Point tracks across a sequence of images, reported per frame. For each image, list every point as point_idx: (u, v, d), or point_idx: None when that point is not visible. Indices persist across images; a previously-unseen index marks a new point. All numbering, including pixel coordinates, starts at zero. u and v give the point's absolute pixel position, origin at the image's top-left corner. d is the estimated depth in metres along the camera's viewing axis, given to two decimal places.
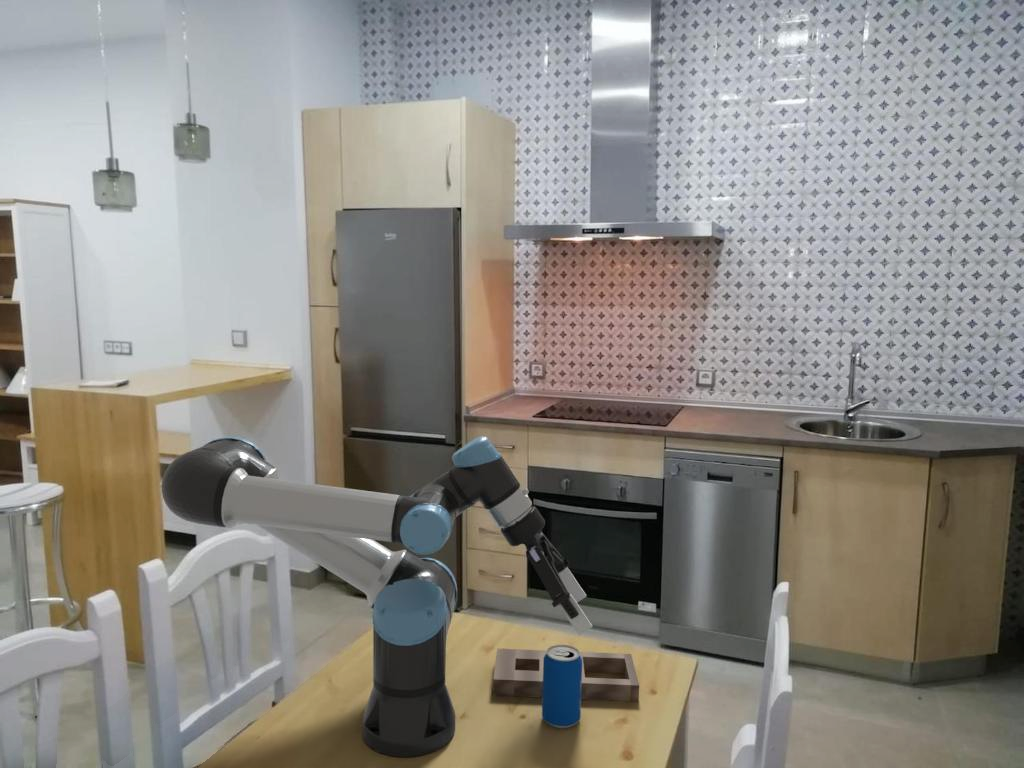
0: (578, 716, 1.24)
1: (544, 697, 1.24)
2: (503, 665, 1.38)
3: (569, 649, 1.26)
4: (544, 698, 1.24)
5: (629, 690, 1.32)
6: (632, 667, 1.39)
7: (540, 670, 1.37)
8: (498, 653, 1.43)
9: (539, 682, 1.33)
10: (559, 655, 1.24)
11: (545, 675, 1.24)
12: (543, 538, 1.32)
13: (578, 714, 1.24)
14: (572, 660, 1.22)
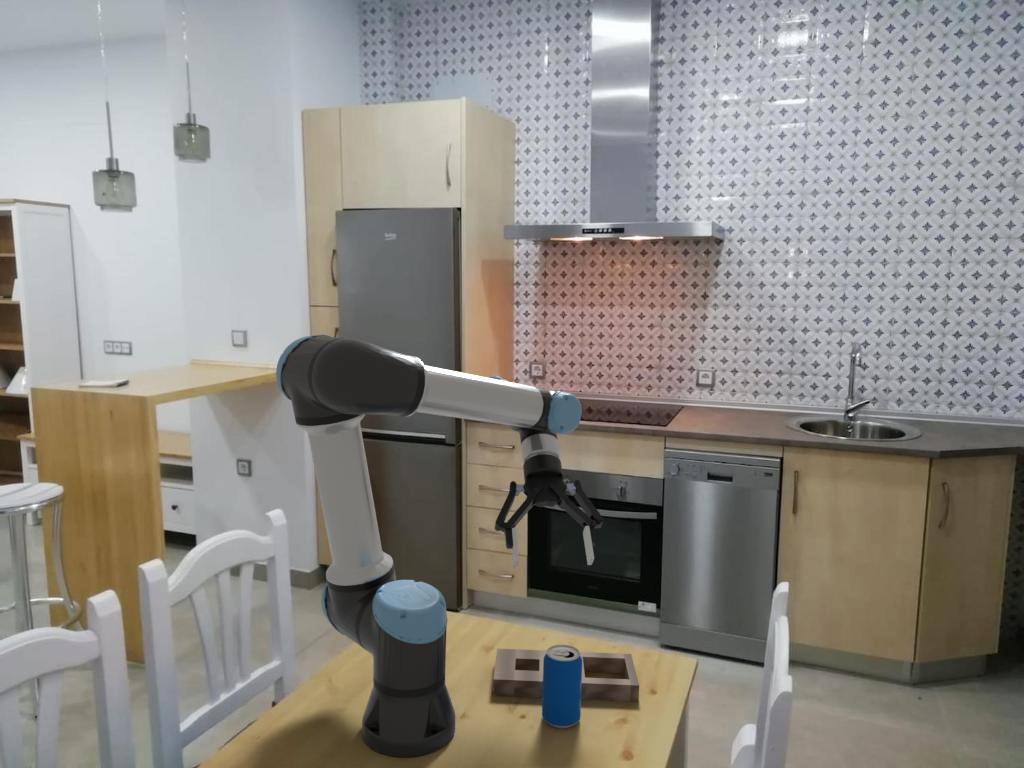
0: (578, 716, 1.24)
1: (544, 697, 1.24)
2: (503, 665, 1.38)
3: (569, 649, 1.26)
4: (544, 698, 1.24)
5: (629, 690, 1.32)
6: (632, 667, 1.39)
7: (540, 670, 1.37)
8: (498, 653, 1.43)
9: (539, 682, 1.33)
10: (559, 655, 1.24)
11: (545, 675, 1.24)
12: None
13: (578, 714, 1.24)
14: (572, 660, 1.22)
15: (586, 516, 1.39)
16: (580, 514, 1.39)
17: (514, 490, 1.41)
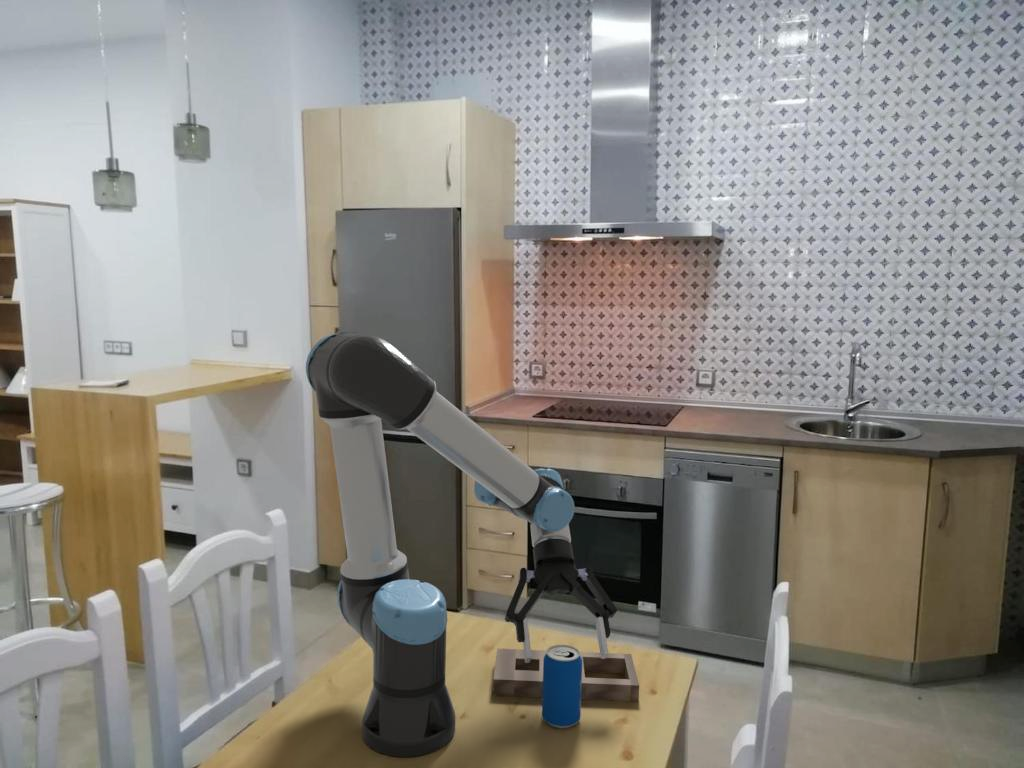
0: (578, 716, 1.24)
1: (544, 697, 1.24)
2: (503, 665, 1.38)
3: (569, 649, 1.26)
4: (544, 698, 1.24)
5: (629, 690, 1.32)
6: (632, 667, 1.39)
7: (540, 670, 1.37)
8: (498, 653, 1.43)
9: (539, 682, 1.33)
10: (559, 655, 1.24)
11: (545, 675, 1.24)
12: None
13: (578, 714, 1.24)
14: (572, 660, 1.22)
15: (599, 606, 1.34)
16: (593, 604, 1.34)
17: (524, 578, 1.36)
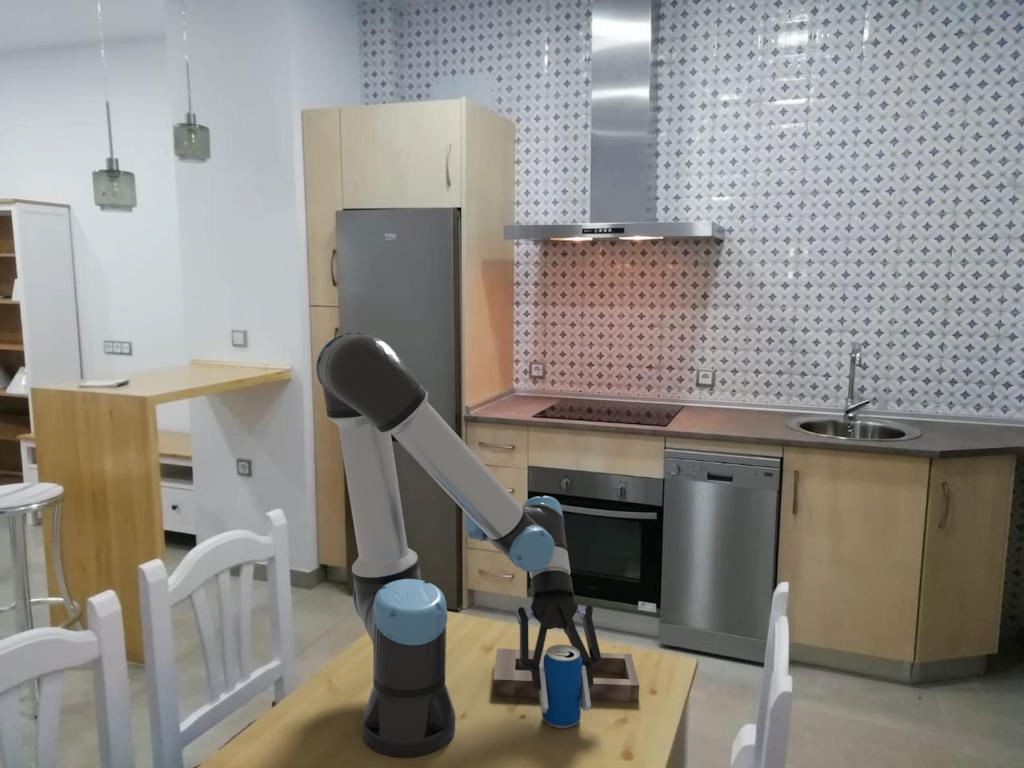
0: (578, 716, 1.24)
1: None
2: (503, 665, 1.38)
3: (569, 649, 1.26)
4: None
5: (629, 690, 1.32)
6: (632, 667, 1.39)
7: None
8: (498, 653, 1.43)
9: None
10: (559, 655, 1.24)
11: (545, 675, 1.24)
12: None
13: (578, 714, 1.24)
14: (572, 660, 1.22)
15: (585, 652, 1.27)
16: (579, 648, 1.27)
17: (525, 617, 1.30)
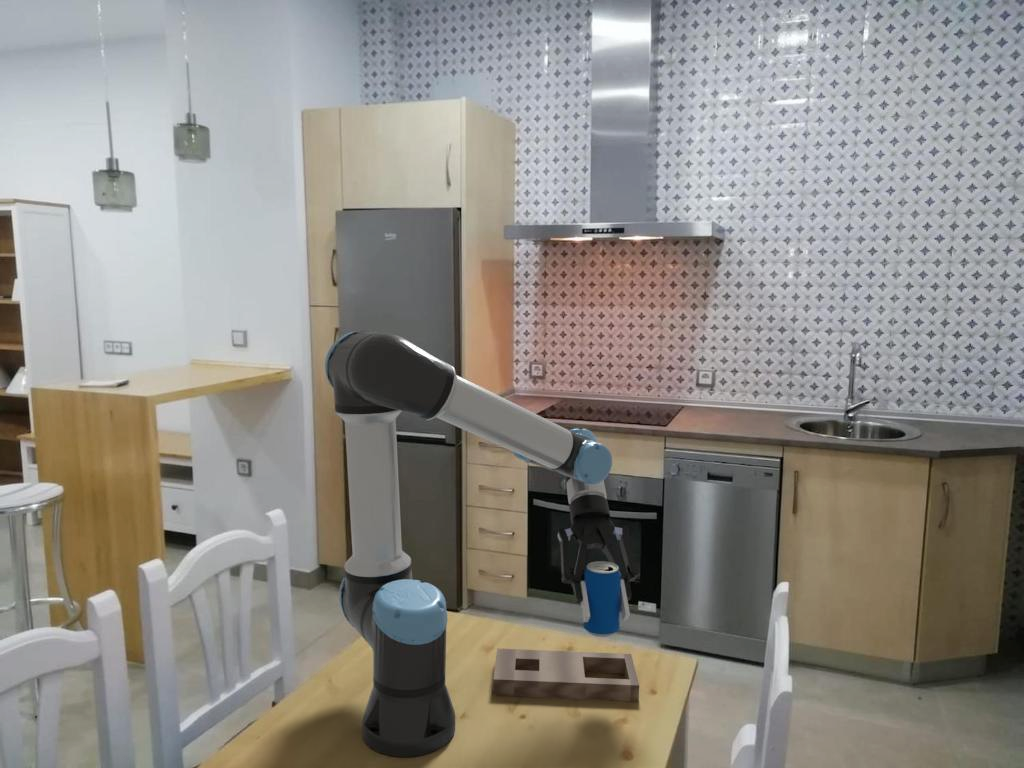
0: (618, 626, 1.32)
1: None
2: (503, 665, 1.38)
3: (608, 565, 1.34)
4: None
5: (629, 690, 1.32)
6: (632, 667, 1.39)
7: (540, 670, 1.37)
8: (498, 653, 1.43)
9: (539, 682, 1.33)
10: (599, 569, 1.32)
11: (586, 588, 1.32)
12: None
13: (617, 624, 1.32)
14: (612, 573, 1.31)
15: (623, 568, 1.35)
16: (617, 564, 1.36)
17: (566, 537, 1.38)
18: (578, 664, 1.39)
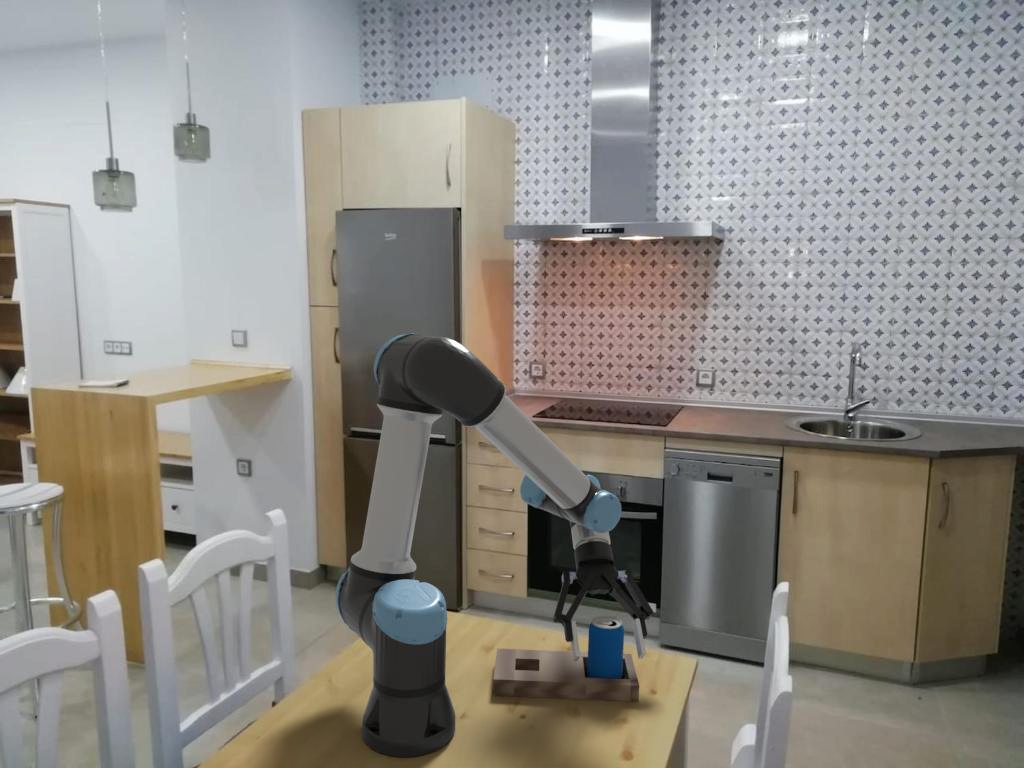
0: None
1: (589, 662, 1.37)
2: (503, 665, 1.38)
3: (611, 619, 1.39)
4: (589, 663, 1.37)
5: (629, 690, 1.32)
6: (632, 667, 1.39)
7: (540, 670, 1.37)
8: (498, 653, 1.43)
9: (539, 682, 1.33)
10: (603, 624, 1.37)
11: (591, 642, 1.36)
12: None
13: (620, 677, 1.37)
14: (615, 628, 1.35)
15: (636, 608, 1.41)
16: (630, 606, 1.41)
17: (568, 579, 1.43)
18: (578, 664, 1.39)
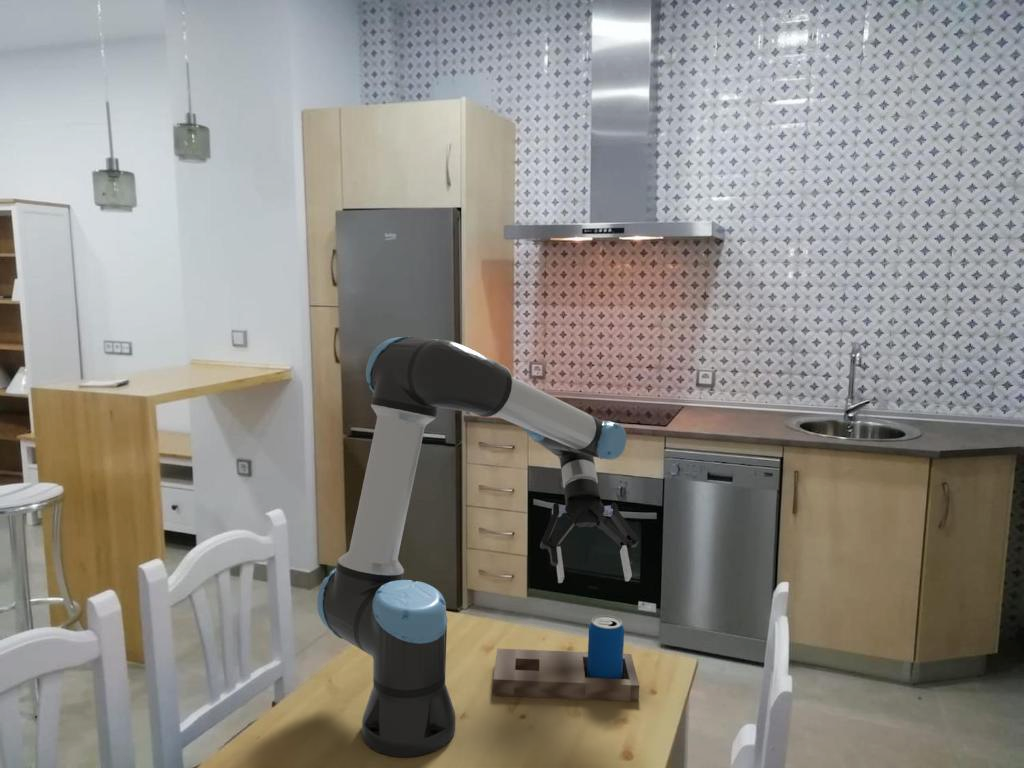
0: None
1: (589, 662, 1.37)
2: (503, 665, 1.38)
3: (611, 619, 1.39)
4: (589, 663, 1.37)
5: (629, 690, 1.32)
6: (632, 667, 1.39)
7: (540, 670, 1.37)
8: (498, 653, 1.43)
9: (539, 682, 1.33)
10: (603, 624, 1.37)
11: (591, 642, 1.36)
12: None
13: (620, 677, 1.37)
14: (616, 628, 1.35)
15: (623, 536, 1.52)
16: (617, 535, 1.52)
17: (557, 512, 1.54)
18: (578, 664, 1.39)
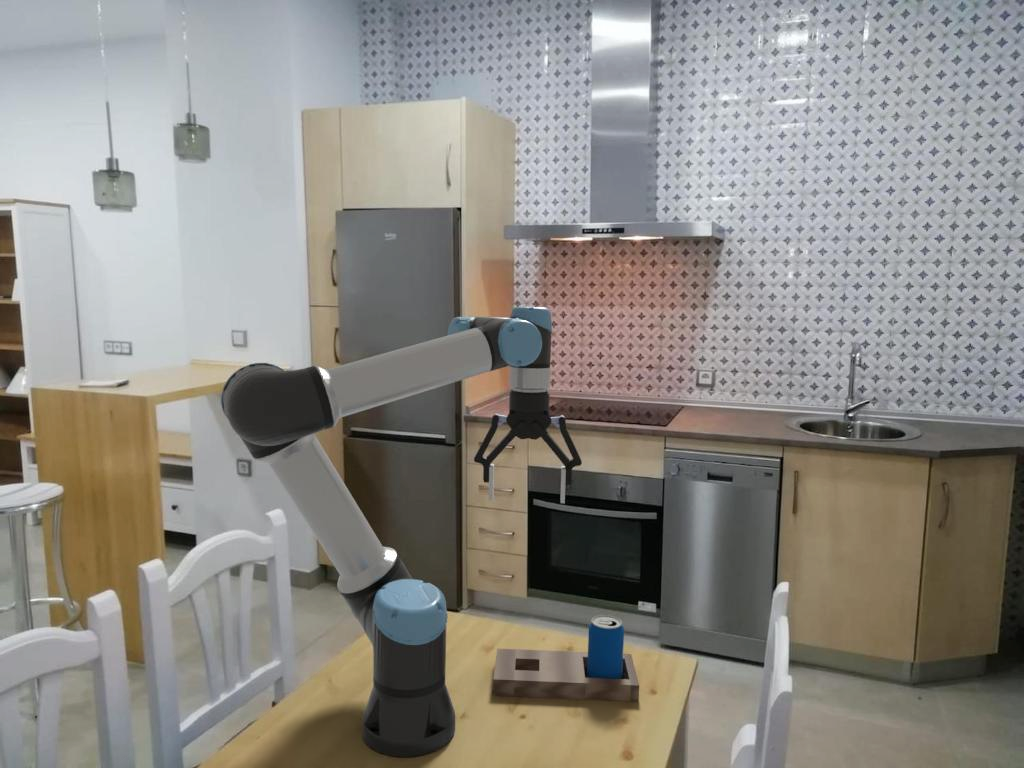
0: None
1: (589, 662, 1.37)
2: (503, 665, 1.38)
3: (611, 619, 1.39)
4: (589, 663, 1.37)
5: (629, 690, 1.32)
6: (632, 667, 1.39)
7: (540, 670, 1.37)
8: (498, 653, 1.43)
9: (539, 682, 1.33)
10: (603, 624, 1.37)
11: (590, 642, 1.36)
12: None
13: (620, 677, 1.37)
14: (615, 628, 1.35)
15: (565, 458, 1.39)
16: (559, 456, 1.39)
17: (496, 425, 1.39)
18: (578, 664, 1.39)
